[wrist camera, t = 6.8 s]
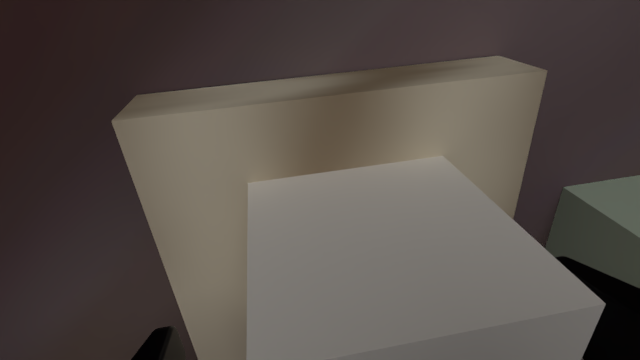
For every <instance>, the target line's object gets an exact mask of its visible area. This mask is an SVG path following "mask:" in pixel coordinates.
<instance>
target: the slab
mask: <svg viewBox="0 0 640 360" xmlns="http://www.w3.org/2000/svg"><path fill="white" fill-rule="evenodd" d="M546 75H547V70H544V69H541V68H538V67H534V66H531V65H528V64H524V63H521V62H518V61H514V60H511V59H508V58H505V57H501V56H491V57H482V58H473V59H464V60H454V61H445V62H436V63H427V64H418V65H409V66H400V67H390V68H381V69H372V70H363V71H354V72H345V73H335V74H326V75H317V76H308V77H299V78H290V79H281V80H271V81H262V82H253V83H244V84H235V85H226V86H216V87H207V88H198V89H189V90H180V91H171V92H162V93H152V94H143V95H136V96H135V98H134V99H133V100H132V101H131V102H130V103H129V104H128V105H127V106H126V107H125V108H124V109H123V110H122V111H121V112H120V113H119V114H118V115H117V116H116V117H115V118H114V119H113V120H112V121H111V122H112V124H113V127H114V130H115V133H116V135H117V138H118V141H119V144H120V146H121V149H122V152H123V155H124V157H125V160H126V163H127V166H128V168H129V171H130V174H131V177H132V179H133V182H134V185H135V188H136V190H137V193H138V196H139V199H140V201H141V204H142V207H143V210H144V212H145V215H146V218H147V221H148V223H149V226H150V229H151V232H152V234H153V237H154V240H155V243H156V245H157V248H158V251H159V254H160V256H161V259H162V262H163V265H164V267H165V270H166V273H167V276H168V278H169V281H170V284H171V287H172V289H173V292H174V295H175V297H176V300H177V303H178V306H179V308H180V311H181V314H182V317H183V319H184V322H185V325H186V328H187V330H188V333H189V336H190V339H191V341H192V344H193V347H194V350H195V352H196V355H197V358H198V360H246V354H247V226H248V183H252V182H259V181H266V180H273V179H280V178H287V177H294V176H302V175H309V174H316V173H323V172H330V171H337V170H345V169H352V168H359V167H366V166H373V165H380V164H387V163H395V162H402V161H409V160H416V159H423V158H430V157H438V156H444V157H445V158H446V159H447V160H448V161H449V162H450V163H451V164H452V165H453V166H455V167H456V168H457V169H458V170H459V171H460V172H461V173H462V174H463V175H464V176H466V177H467V178H468V179H469V180H470V181H471V182H472V183H473V184H474V185H476V186H477V187H478V188H479V189H480V190H481V191H482V192H483V193H484V194H485V195H487V196H488V197H489V198H490V199H491V200H492V201H493V202H494V203H495V204H496V205H498V206H499V207H500V208H501V209H502V210H503V211H504V212H505V213H506V214H507V215H509V216H510V217H511V218H512V219H513V218H514V213H515V209H516V205H517V200H518V196H519V192H520V187H521V183H522V179H523V174H524V170H525V166H526V161H527V157H528V153H529V148H530V144H531V140H532V135H533V131H534V127H535V122H536V118H537V114H538V109H539V105H540V101H541V96H542V92H543V88H544V83H545V79H546Z"/></svg>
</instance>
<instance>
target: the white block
mask: <svg viewBox="0 0 640 360" xmlns="http://www.w3.org/2000/svg"><path fill="white" fill-rule="evenodd" d="M605 305H606V303H604V302H603V301H602V300H601V299H600V298H599V297H598V296H597V295H596V294H595V293H593V292H592V291H591V290H590V289H589V288H588V287H587V286H586V285H585V284H583V283H582V282H581V281H580V280H579V279H578V278H577V277H576V276H575V275H574V274H572V273H571V272H570V271H569V270H568V269H567V268H566V267H565V266H564V265H563V264H561V263H560V262H559V261H558V260H557V259H556V258H555V257H554V256H553V255H552V254H550V253H549V252H548V251H547V250H546V249H545V248H544V247H543V246H542V245H541V244H539V243H538V242H537V241H536V240H535V239H534V238H533V237H532V236H531V235H529V234H528V233H527V232H526V231H525V230H524V229H523V228H522V227H521V226H520V225H518V224H517V223H516V222H515V221H514V220H513V219H512V218H511V217H510V216H509V215H507V214H506V213H505V212H504V211H503V210H502V209H501V208H500V207H499V206H498V205H496V204H495V203H494V202H493V201H492V200H491V199H490V198H489V197H488V196H487V195H485V194H484V193H483V192H482V191H481V190H480V189H479V188H478V187H477V186H476V185H474V184H473V183H472V182H471V181H470V180H469V179H468V178H467V177H466V176H464V175H463V174H462V173H461V172H460V171H459V170H458V169H457V168H456V167H455V166H453V165H452V164H451V163H450V162H449V161H448V160H447V159H446V158H445V157H444V156H438V157H430V158H423V159H416V160H409V161H402V162H395V163H387V164H380V165H373V166H366V167H359V168H352V169H345V170H337V171H330V172H323V173H316V174H309V175H302V176H294V177H287V178H280V179H273V180H266V181H259V182H252V183H248V226H247V354H246V360H581V359H582V357H583V355H584V352H585V350H586V348H587V346H588V343H589V341H590V339H591V337H592V334H593V332H594V330H595V328H596V325H597V323H598V321H599V318H600V316H601V314H602V312H603V309H604V307H605Z"/></svg>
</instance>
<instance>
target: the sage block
mask: <svg viewBox="0 0 640 360" xmlns="http://www.w3.org/2000/svg"><path fill="white" fill-rule="evenodd" d="M545 249H546V250H547V251H548V252H549V253H550V254H552V255H553V256H554V257H559V256H565V257H568V258H571V259H573V260H575V261H578V262H580V263H582V264H585V265H587V266H589V267H592V268H594V269H596V270H598V271H601V272H603V273H605V274H608V275H610V276H612V277H615V278H617V279H619V280H621V281H624V282H626V283H628V284H631V285H633V286H635V287H638V288H640V175H638V176H632V177H625V178H619V179H613V180H606V181H600V182H594V183H587V184H581V185H574V186H568V187H563V190H562V193H561V197H560V200H559V203H558V207H557V210H556V213H555V217H554V220H553V224H552V227H551V230H550V234H549V237H548V240H547V244H546V247H545Z"/></svg>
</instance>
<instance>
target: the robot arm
mask: <svg viewBox="0 0 640 360" xmlns="http://www.w3.org/2000/svg"><path fill="white" fill-rule="evenodd" d="M555 258H556V259H557V260H558V261H559V262H560V263H561V264H563V265H564V266H565V267H566V268H567V269H568V270H569V271H570V272H571V273H572V274H574V275H575V276H576V277H577V278H578V279H579V280H580V281H581V282H582V283H583V284H585V285H586V286H587V287H588V288H589V289H590V290H591V291H592V292H593V293H595V294H596V295H597V296H598V297H599V298H600V299H601V300H602V301H603V302H604V303H606V305H605V307H604V309H603V312H602V314H601V316H600V318H599V321H598V323H597V325H596V328H595V330H594V332H593V334H592V337H591V339H590V341H589V343H588V346H587V348H586V350H585V352H584V355H583V357H582V358H583V359H584V360H640V288H638V287H635V286H633V285H631V284H628V283H626V282H624V281H621V280H619V279H617V278H615V277H612V276H610V275H608V274H605V273H603V272H601V271H598V270H596V269H594V268H592V267H589V266H587V265H585V264H582V263H580V262H578V261H575V260H573V259H571V258H568V257H565V256H559V257H555ZM131 360H185V350H184V347H183V344H182V342H181V339H180V337H179V334H178V331H177V329H176V328H175V327H174V326H168V327H163V328H158V329H155V330H154V331H153V332H152V333H151V335H150V336H149V337H148V338H147V340H146V341H145V342H144V344H143V345H142V346H141V347H140V349H139V350H138V351H137V353H136V354H135V355H134V356H133V358H132V359H131Z"/></svg>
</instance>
